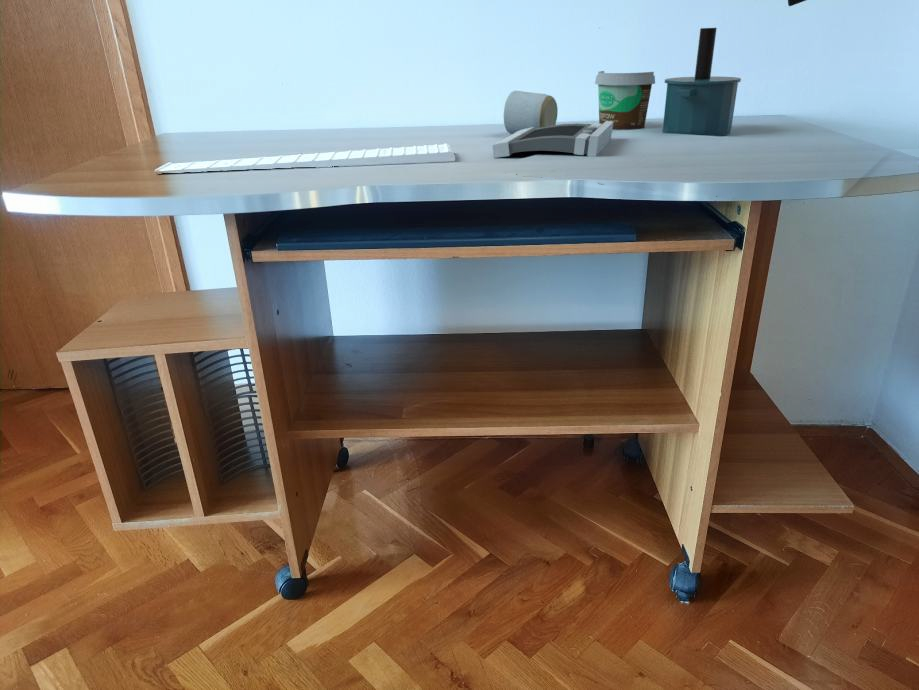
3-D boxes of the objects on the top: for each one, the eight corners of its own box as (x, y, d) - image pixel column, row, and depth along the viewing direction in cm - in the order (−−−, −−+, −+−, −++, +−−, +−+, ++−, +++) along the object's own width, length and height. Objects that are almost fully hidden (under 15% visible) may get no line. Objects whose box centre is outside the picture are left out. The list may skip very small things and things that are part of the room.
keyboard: (153, 175, 95) (150, 164, 94) (171, 166, 102) (168, 155, 101) (455, 161, 97) (454, 150, 97) (451, 152, 105) (451, 142, 104)
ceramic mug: (542, 138, 115) (544, 92, 112) (502, 136, 119) (502, 92, 116) (565, 131, 123) (567, 88, 120) (526, 130, 127) (527, 88, 124)
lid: (749, 83, 113) (758, 26, 109) (726, 89, 104) (734, 27, 101) (680, 82, 120) (685, 28, 116) (652, 87, 112) (657, 29, 108)
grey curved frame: (598, 136, 93) (490, 126, 97) (593, 168, 95) (488, 157, 99) (613, 121, 107) (519, 113, 112) (609, 150, 109) (517, 140, 114)
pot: (743, 128, 118) (751, 78, 115) (711, 141, 107) (719, 86, 103) (682, 125, 125) (687, 78, 121) (645, 136, 113) (650, 85, 110)
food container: (579, 127, 127) (582, 72, 123) (598, 123, 131) (601, 70, 127) (632, 132, 119) (637, 73, 115) (651, 128, 123) (656, 71, 118)
